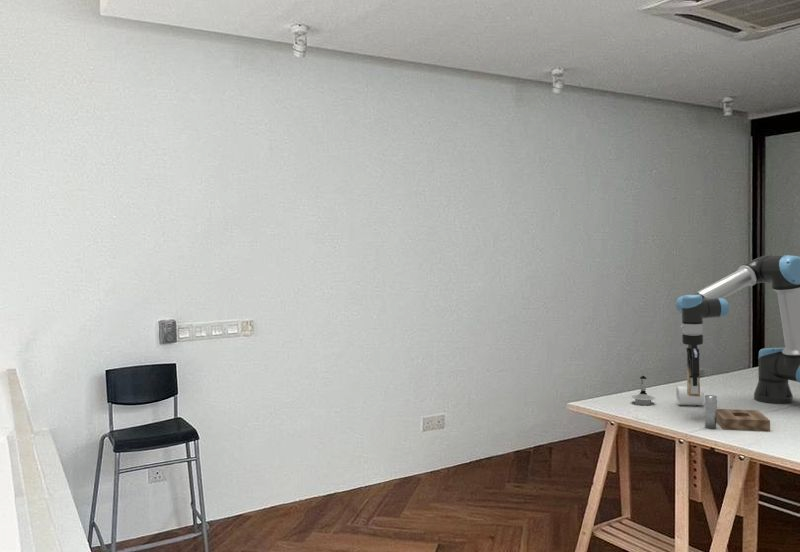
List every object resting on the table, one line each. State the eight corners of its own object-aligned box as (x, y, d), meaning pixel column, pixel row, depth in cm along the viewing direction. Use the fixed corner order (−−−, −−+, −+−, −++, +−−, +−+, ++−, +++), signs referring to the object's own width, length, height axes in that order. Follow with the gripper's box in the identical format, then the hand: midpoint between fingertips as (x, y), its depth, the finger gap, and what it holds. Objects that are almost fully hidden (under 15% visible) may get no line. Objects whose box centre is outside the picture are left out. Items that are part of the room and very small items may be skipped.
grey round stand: (659, 375, 305) (637, 372, 311) (649, 378, 297) (627, 375, 304) (659, 403, 305) (637, 399, 312) (649, 407, 298) (627, 403, 305)
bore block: (758, 420, 272) (758, 410, 272) (770, 431, 257) (770, 420, 257) (714, 418, 276) (714, 408, 276) (723, 429, 260) (723, 418, 260)
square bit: (698, 394, 279) (697, 364, 279) (699, 396, 275) (699, 366, 275) (687, 394, 280) (686, 364, 279) (689, 396, 276) (688, 366, 276)
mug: (704, 407, 296) (704, 388, 295) (679, 406, 298) (679, 388, 297) (698, 401, 307) (698, 383, 307) (674, 400, 309) (674, 382, 309)
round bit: (715, 426, 265) (715, 395, 264) (717, 429, 261) (717, 397, 260) (703, 426, 266) (704, 394, 265) (706, 428, 262) (706, 397, 261)
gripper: (678, 331, 286) (679, 387, 287) (686, 337, 269) (687, 397, 270) (698, 331, 284) (699, 387, 285) (707, 337, 267) (708, 397, 268)
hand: (693, 392), depth 278 cm, fingers closed on square bit, 4 cm apart
